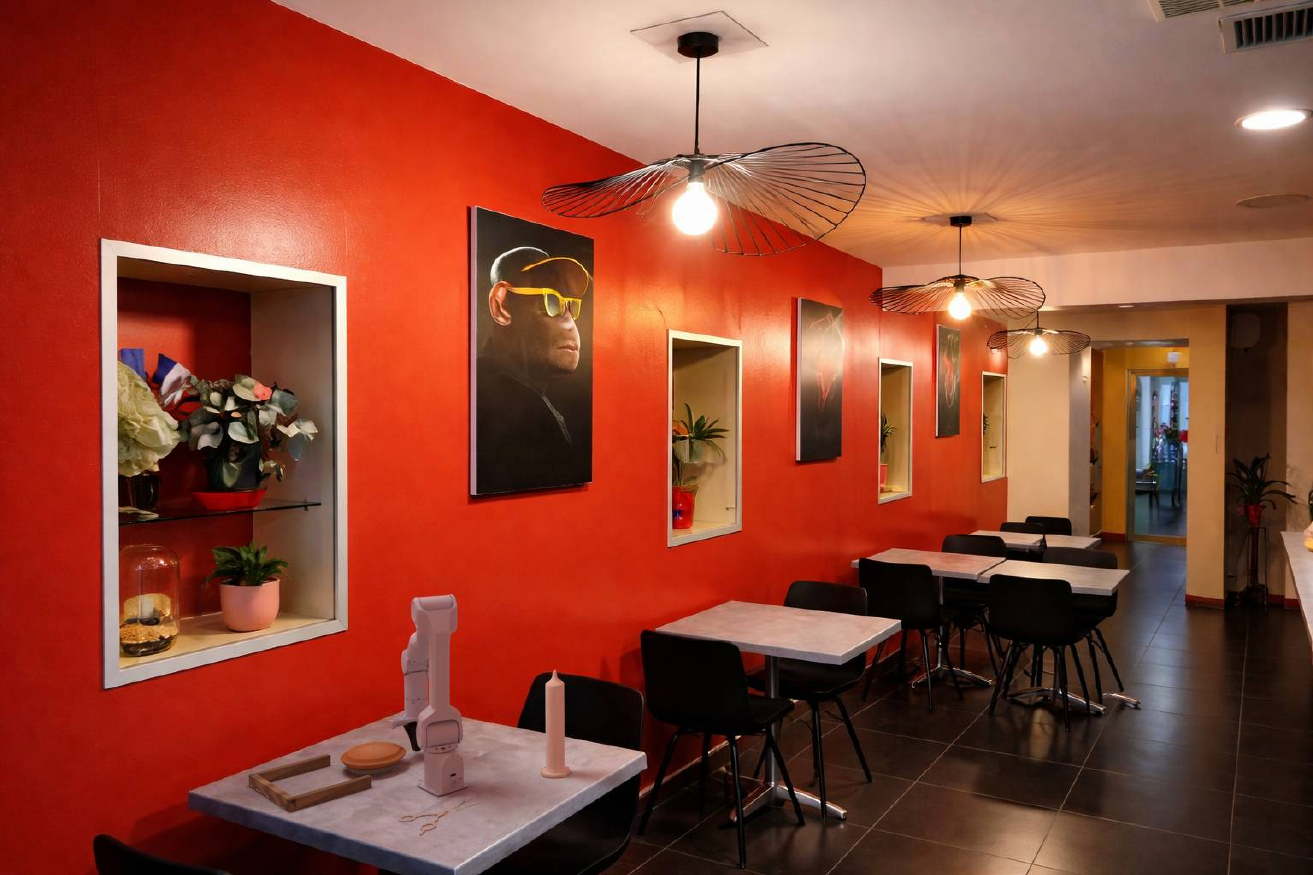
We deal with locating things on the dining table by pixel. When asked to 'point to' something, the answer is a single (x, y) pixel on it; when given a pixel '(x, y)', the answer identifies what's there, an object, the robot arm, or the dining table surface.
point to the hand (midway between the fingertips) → (416, 750)
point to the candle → (555, 730)
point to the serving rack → (310, 798)
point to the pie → (373, 758)
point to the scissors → (439, 814)
